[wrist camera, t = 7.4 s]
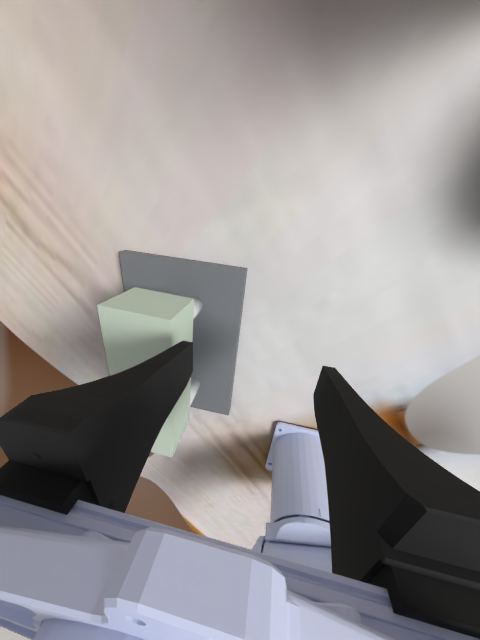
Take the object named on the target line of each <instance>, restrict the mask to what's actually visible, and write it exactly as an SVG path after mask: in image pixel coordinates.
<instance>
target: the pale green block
mask: <svg viewBox="0 0 480 640" xmlns="http://www.w3.org/2000/svg"><path fill="white" fill-rule="evenodd" d="M97 308H98V314H99V320H100V325H101V331H102V337H103V343H104V348H105V354H106V360H107V365H108V371H109V376H111V375H114V374H117V373H119V372H122V371H124V370H127V369H129V368H131V367H134V366H136V365H138V364H140V363H142V362H144V361H146V360H148V359H150V358H152V357H154V356H156V355H158V354H159V353H161V352H163V351H165V350H167V349H168V348H170V347H172V346H174V345H175V344H177V343H179V342H181V341H188V342H193V317H194V299H193V298H188V297H183V296H178V295H173V294H168V293H163V292H157V291H152V290H147V289H142V288H137V287H134V288H132V289H130V290H128V291H126V292H123V293H121V294H119V295H117V296H115V297H113V298H111V299H108V300H106V301H104V302H102V303H100V304H98V305H97ZM190 391H191V377H190V379H189V382H188V384H187V386H186V388H185V390H184V391H183V393H182V395H181V396H180V398H179V400H178V401H177V403H176V404H175V406H174V408H173V409H172V411H171V413H170V414H169V416H168V418H167V419H166V421H165V423H164V425H163V426H162V428H161V430H160V433H159V435H158V437H157V439H156V441H155V443H154V445H153V447H152V449H151V452H153V453H157V454H160V455H164V456H168V457H171V458H172V457H173V455H174V453H175V451H176V448H177V446H178V444H179V442H180V440H181V438H182V435H183V433H184V431H185V429H186V427H187V425H188V422H189V415H190Z"/></svg>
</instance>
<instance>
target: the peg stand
mask: <svg viewBox="0 0 480 640" xmlns="http://www.w3.org/2000/svg"><path fill="white" fill-rule="evenodd" d="M119 256H120V263H121V271H122V278H123V285H124V292H126V291H128V290H130V289H132V288H134V287H137V288H142V289H147V290H152V291H157V292H163V293H168V294H173V295H178V296H183V297H188V298H193V299H194V317H193V372H192V375H191V391H190V407H194V408H198V409H203V410H207V411H211V412H216V413H220V414H225V415H229V411H230V406H231V398H232V390H233V382H234V373H235V365H236V357H237V349H238V341H239V332H240V324H241V316H242V308H243V300H244V292H245V283H246V275H247V268H243V267H236V266H229V265H222V264H216V263H209V262H202V261H196V260H189V259H182V258H175V257H169V256H162V255H155V254H149V253H142V252H135V251H128V250H124V251H119Z"/></svg>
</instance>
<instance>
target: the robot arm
mask: <svg viewBox="0 0 480 640" xmlns="http://www.w3.org/2000/svg"><path fill="white" fill-rule="evenodd" d="M192 372H193V342H188V341H181V342H179V343H177V344H175V345H174V346H172V347H170V348H168V349H167V350H165V351H163V352H161V353H159V354H158V355H156V356H154V357H152V358H150V359H148V360H146V361H144V362H142V363H140V364H138V365H136V366H134V367H131V368H129V369H127V370H124V371H122V372H119V373H117V374H114V375H111V376H108V377H105V378H102V379H99V380H96V381H93V382H89V383H86V384H82V385H78V386H75V387H70V388H67V389H62V390H57V391H52V392H47V393H42V394H37V395H31V396H30V397H28V398H27V399H26V400H24V401H23V402H22V403H20V404H19V405H17V406H16V407H14V408H13V409H12V410H10V411H9V412H7V413H6V414H5V415H3V416H2V417H0V446H1V448H2V449H3V451H4V453H5V454H6V456H7V457H8V459H9V461H8V462H7V463H6V464H5V465H4V466H2V467H1V468H0V626H1V627H3V628H6V629H8V630H10V631H13V632H15V633H17V634H20V635H22V636H24V637H27V638H29V639H31V640H480V491H478V490H476V489H475V488H473V487H472V486H470V485H468V484H467V483H465V482H464V481H462V480H461V479H459V478H458V477H456V476H455V475H453V474H452V473H450V472H449V471H447V470H446V469H444V468H443V467H442V466H440V465H439V464H437V463H436V462H434V461H433V460H432V459H430V458H429V457H428V456H426V455H425V454H424V453H422V452H421V451H420V450H418V449H417V448H416V447H415V446H413V445H412V444H411V443H409V442H408V441H407V440H406V439H404V438H403V437H402V436H401V435H400V434H398V433H397V432H396V431H395V430H394V429H393V428H392V427H390V426H389V425H388V424H387V423H386V422H385V421H384V420H383V419H381V418H380V417H379V416H378V415H377V414H376V413H375V412H374V411H373V410H372V409H371V408H370V407H369V406H368V405H367V404H366V403H365V402H364V400H363V399H362V398H361V397H360V396H359V395H358V394H357V393H356V392H355V391H354V389H353V388H352V387H351V386H350V385H349V384H348V383H347V381H346V380H345V379H344V378H343V377H342V375H341V374H340V373H339V372H338V371H337V370H336V369H335V368H332V367H327V366H323V367H322V370H321V373H320V376H319V379H318V382H317V385H316V389H315V392H314V411H315V417H316V422H317V428H318V430H314V429H309V428H305V427H301V426H296V425H292V424H287V423H283V422H278V423H277V424H276V427H275V431H274V435H273V439H272V442H271V446H270V450H269V454H268V457H267V461H266V465H265V468H266V469H267V470H270V471H272V491H271V514H270V519H271V523H266V535H265V536H260V537H259V538H258V540H257V541H256V543H255V545H254V546H253V548H252V550H250V549H247V548H243V547H240V546H236V545H233V544H229V543H226V542H222V541H219V540H216V539H212V538H209V537H205V536H202V535H198V534H195V533H191V532H188V531H184V530H181V529H177V528H174V527H171V526H167V525H164V524H160V523H157V522H153V521H150V520H146V519H143V518H139V517H136V516H132V515H129V514H125V510H126V508H127V505H128V503H129V501H130V498H131V496H132V493H133V490H134V488H135V486H136V483H137V481H138V479H139V476H140V474H141V472H142V469H143V467H144V465H145V463H146V460H147V458H148V456H149V454H150V452H151V449H152V447H153V445H154V443H155V441H156V439H157V437H158V435H159V433H160V430H161V428H162V426H163V425H164V423H165V421H166V419H167V418H168V416H169V414H170V413H171V411H172V409H173V408H174V406H175V404H176V403H177V401H178V400H179V398H180V396H181V395H182V393H183V391H184V390H185V388H186V386H187V384H188V382H189V379H190V377H191V375H192Z"/></svg>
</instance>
